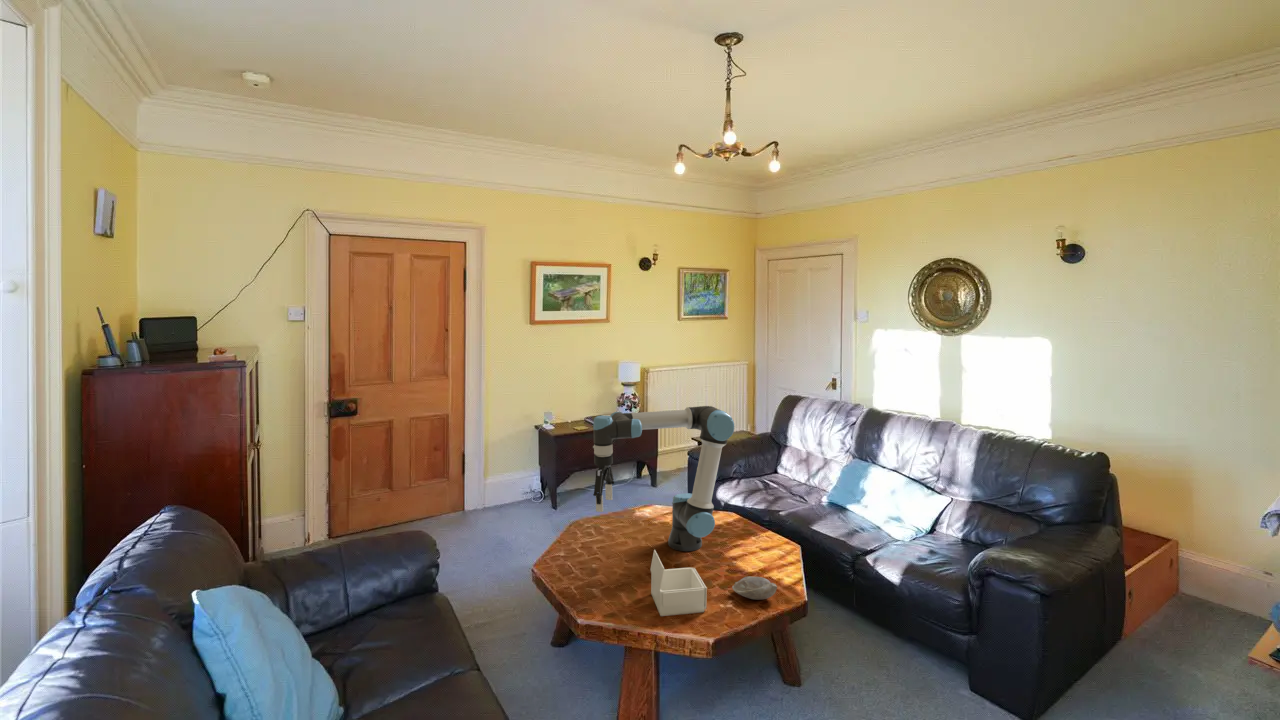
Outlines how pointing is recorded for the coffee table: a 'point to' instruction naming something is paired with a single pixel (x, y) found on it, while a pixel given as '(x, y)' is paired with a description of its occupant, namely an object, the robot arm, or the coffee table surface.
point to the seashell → (755, 588)
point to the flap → (657, 569)
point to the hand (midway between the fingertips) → (604, 505)
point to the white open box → (679, 592)
